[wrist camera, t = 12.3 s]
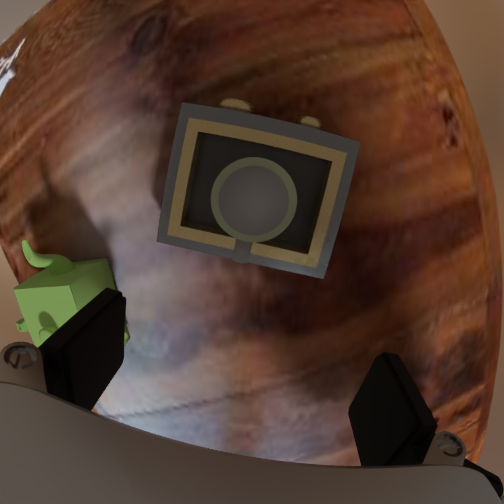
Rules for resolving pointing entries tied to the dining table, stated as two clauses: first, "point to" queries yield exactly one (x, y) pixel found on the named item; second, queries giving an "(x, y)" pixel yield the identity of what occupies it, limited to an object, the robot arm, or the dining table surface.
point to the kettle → (58, 291)
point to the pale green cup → (253, 202)
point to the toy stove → (263, 146)
